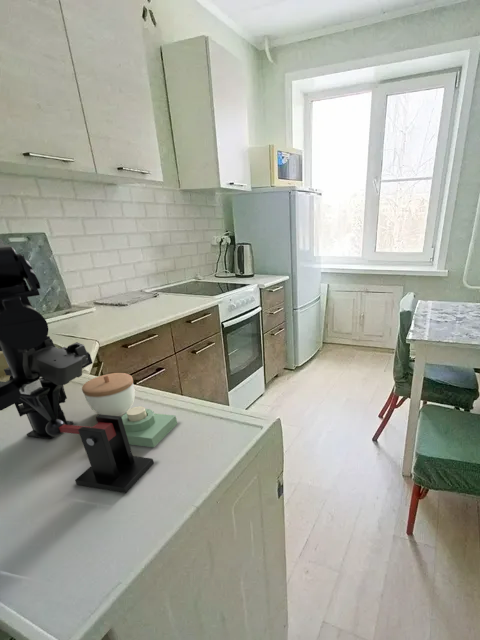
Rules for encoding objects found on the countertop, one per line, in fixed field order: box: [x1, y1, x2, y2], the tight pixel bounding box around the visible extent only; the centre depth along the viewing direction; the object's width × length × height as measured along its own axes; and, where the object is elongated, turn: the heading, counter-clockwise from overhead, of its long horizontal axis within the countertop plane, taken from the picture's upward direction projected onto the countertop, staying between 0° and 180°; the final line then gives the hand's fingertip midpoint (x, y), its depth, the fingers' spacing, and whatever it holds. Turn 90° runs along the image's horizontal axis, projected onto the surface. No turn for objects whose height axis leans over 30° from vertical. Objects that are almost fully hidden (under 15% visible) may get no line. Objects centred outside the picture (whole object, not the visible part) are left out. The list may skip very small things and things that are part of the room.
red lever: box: [46, 419, 116, 441], centre depth 61 cm, size 13×3×3 cm, turn 75°
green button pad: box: [121, 408, 178, 448], centre depth 75 cm, size 12×9×4 cm
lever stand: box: [74, 414, 155, 494], centre depth 61 cm, size 10×8×11 cm
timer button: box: [127, 405, 147, 422], centre depth 74 cm, size 4×4×2 cm
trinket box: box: [81, 372, 136, 416], centre depth 82 cm, size 11×11×9 cm
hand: (53, 420), depth 61 cm, fingers closed
